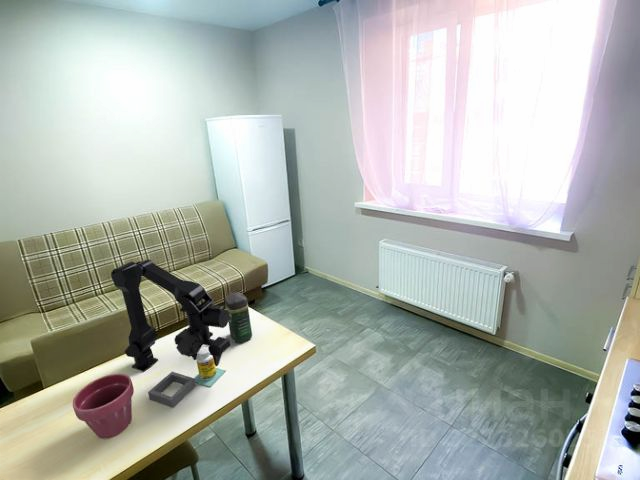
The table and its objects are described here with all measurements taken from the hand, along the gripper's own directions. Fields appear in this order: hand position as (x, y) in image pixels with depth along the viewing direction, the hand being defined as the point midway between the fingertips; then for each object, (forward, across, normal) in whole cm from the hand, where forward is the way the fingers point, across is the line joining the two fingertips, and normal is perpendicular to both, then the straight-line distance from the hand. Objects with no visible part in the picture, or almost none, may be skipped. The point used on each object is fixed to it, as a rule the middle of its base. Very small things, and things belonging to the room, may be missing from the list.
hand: (206, 362), depth 113 cm
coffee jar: (+6, -3, +23) cm, 24 cm away
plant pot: (+6, -13, -26) cm, 29 cm away
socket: (+6, -6, -10) cm, 13 cm away
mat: (+6, 0, 0) cm, 6 cm away
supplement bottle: (+6, 0, 0) cm, 6 cm away
